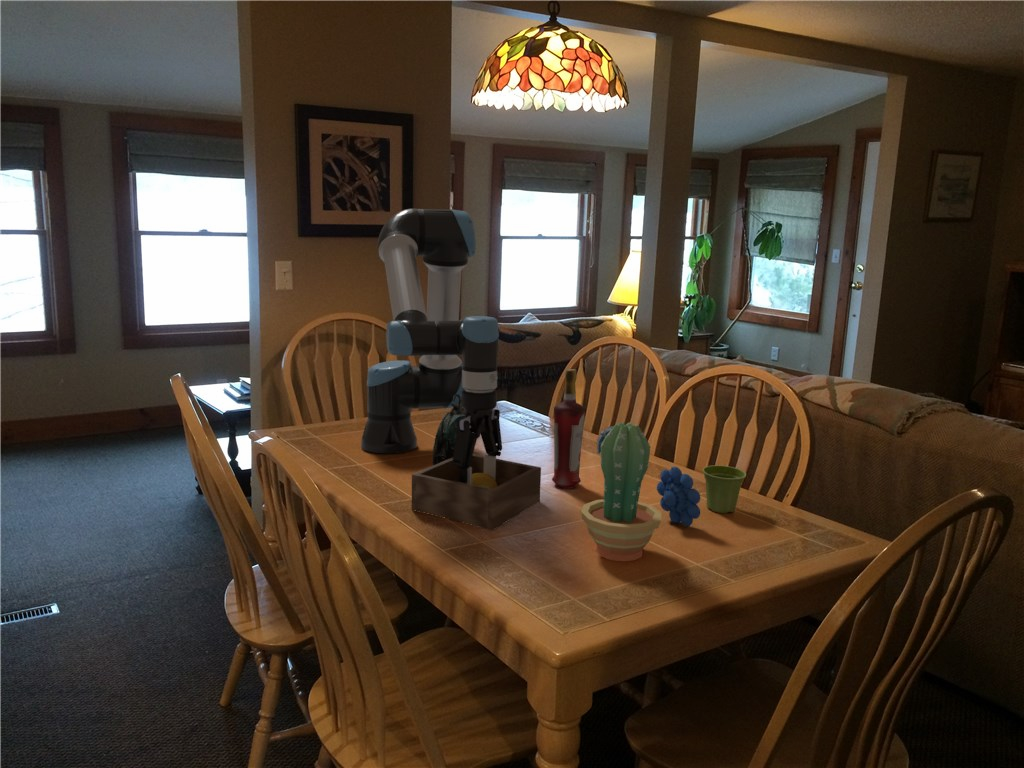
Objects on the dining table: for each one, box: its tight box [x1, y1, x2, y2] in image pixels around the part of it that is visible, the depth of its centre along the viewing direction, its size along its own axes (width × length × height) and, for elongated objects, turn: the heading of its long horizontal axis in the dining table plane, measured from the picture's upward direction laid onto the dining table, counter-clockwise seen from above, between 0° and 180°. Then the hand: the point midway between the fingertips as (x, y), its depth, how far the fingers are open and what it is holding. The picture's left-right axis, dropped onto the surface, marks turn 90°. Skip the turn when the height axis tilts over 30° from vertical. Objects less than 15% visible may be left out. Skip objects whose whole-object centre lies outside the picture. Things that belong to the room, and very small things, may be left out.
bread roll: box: [472, 473, 498, 490], centre depth 175 cm, size 8×9×4 cm
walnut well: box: [411, 453, 542, 531], centre depth 175 cm, size 20×20×8 cm
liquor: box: [551, 368, 586, 489], centre depth 189 cm, size 7×7×28 cm
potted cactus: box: [580, 422, 663, 562], centre depth 151 cm, size 15×15×25 cm
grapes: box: [656, 466, 701, 527], centre depth 167 cm, size 12×7×12 cm, turn 37°
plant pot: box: [702, 464, 747, 514], centre depth 178 cm, size 9×9×9 cm
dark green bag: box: [432, 394, 472, 466], centre depth 195 cm, size 20×6×20 cm, turn 164°
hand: (477, 489), depth 175 cm, fingers closed on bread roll, 9 cm apart
